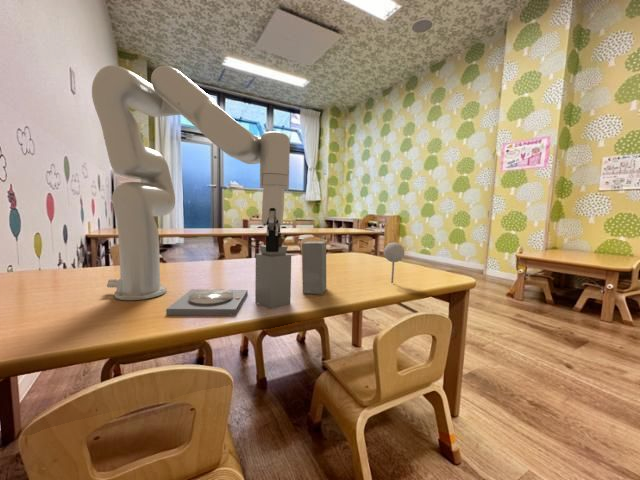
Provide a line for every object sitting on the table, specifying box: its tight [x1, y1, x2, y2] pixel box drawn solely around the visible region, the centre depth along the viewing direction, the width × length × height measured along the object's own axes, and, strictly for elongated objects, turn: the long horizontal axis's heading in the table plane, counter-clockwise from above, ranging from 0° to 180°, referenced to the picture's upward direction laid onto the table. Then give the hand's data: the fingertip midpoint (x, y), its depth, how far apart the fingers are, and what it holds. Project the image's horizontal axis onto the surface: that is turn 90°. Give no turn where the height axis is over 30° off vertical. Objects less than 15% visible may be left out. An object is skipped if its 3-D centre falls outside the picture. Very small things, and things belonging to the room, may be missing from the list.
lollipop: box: [383, 241, 405, 284], centre depth 101 cm, size 7×7×15 cm
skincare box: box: [301, 240, 327, 296], centre depth 89 cm, size 8×7×16 cm
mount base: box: [165, 288, 248, 316], centre depth 75 cm, size 16×16×2 cm
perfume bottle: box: [254, 236, 292, 310], centre depth 76 cm, size 7×7×18 cm
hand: (273, 248), depth 76 cm, fingers closed on perfume bottle, 7 cm apart
